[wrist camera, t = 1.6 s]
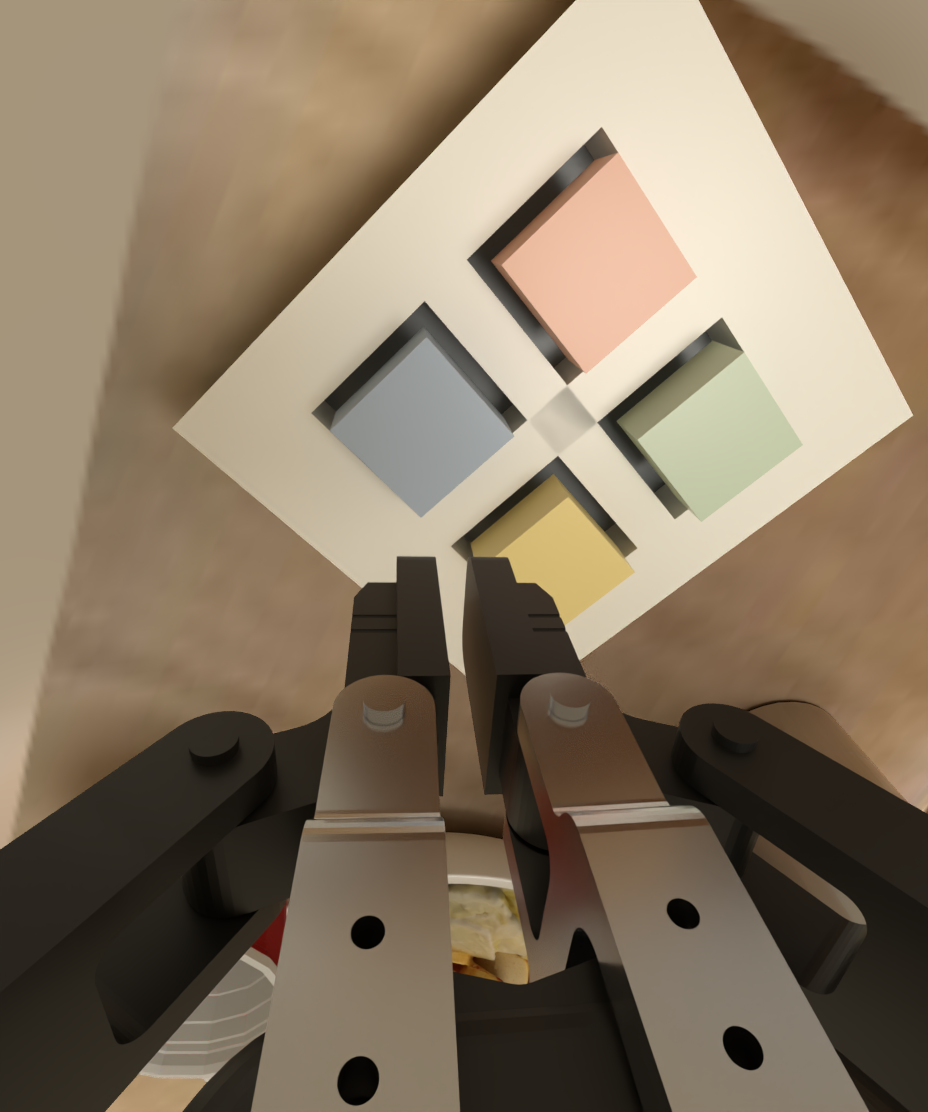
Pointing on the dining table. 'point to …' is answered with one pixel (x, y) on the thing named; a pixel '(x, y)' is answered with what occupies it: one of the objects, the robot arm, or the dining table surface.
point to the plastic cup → (225, 1014)
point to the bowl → (482, 911)
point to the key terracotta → (595, 263)
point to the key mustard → (556, 548)
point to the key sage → (710, 429)
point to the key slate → (421, 424)
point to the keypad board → (527, 349)
